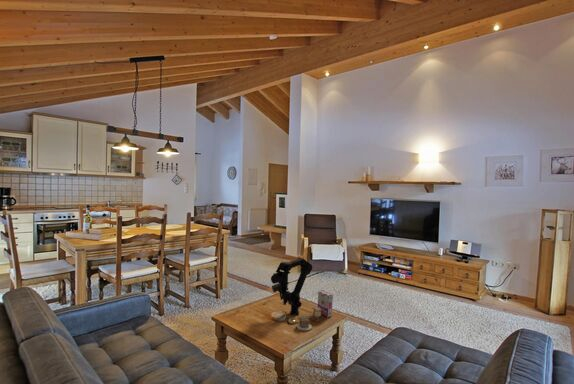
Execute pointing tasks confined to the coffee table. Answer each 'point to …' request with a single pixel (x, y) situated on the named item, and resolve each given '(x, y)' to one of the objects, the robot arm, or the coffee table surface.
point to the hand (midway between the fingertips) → (283, 302)
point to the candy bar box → (325, 303)
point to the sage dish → (304, 328)
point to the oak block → (317, 311)
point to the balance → (293, 321)
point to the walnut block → (304, 322)
